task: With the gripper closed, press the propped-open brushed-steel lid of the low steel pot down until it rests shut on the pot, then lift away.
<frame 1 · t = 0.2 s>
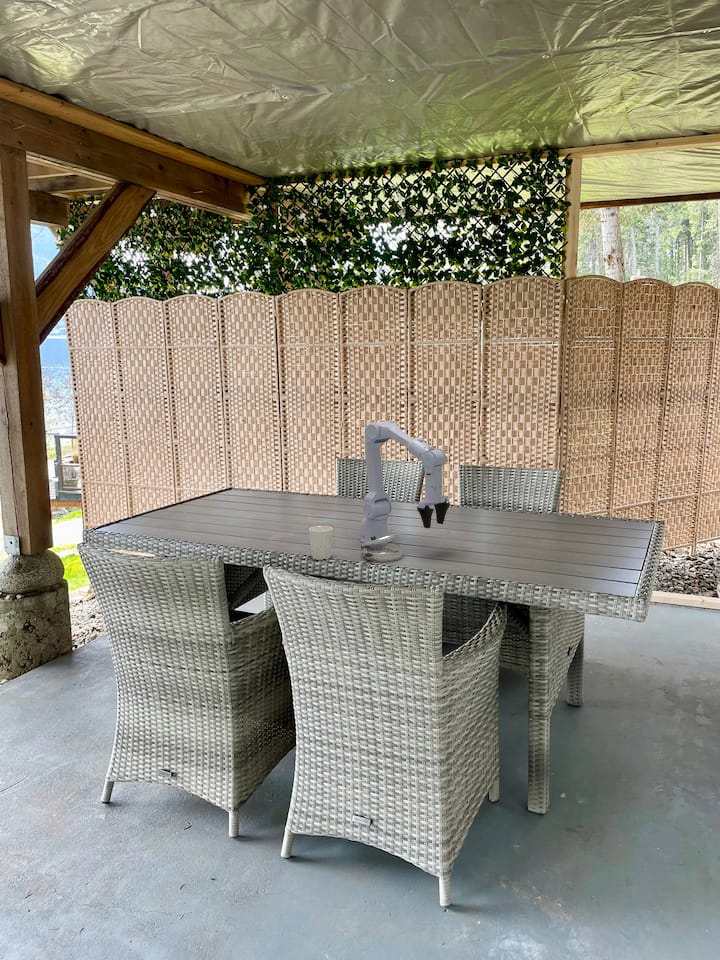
hand: (433, 525, 231), 10 cm above the table, tool pointing down, fingers open, 7 cm apart
white cup: (321, 557, 233), on the table
pot: (382, 556, 232), on the table
lid: (380, 537, 231), point 6 cm above the table, hinge at 20.0°
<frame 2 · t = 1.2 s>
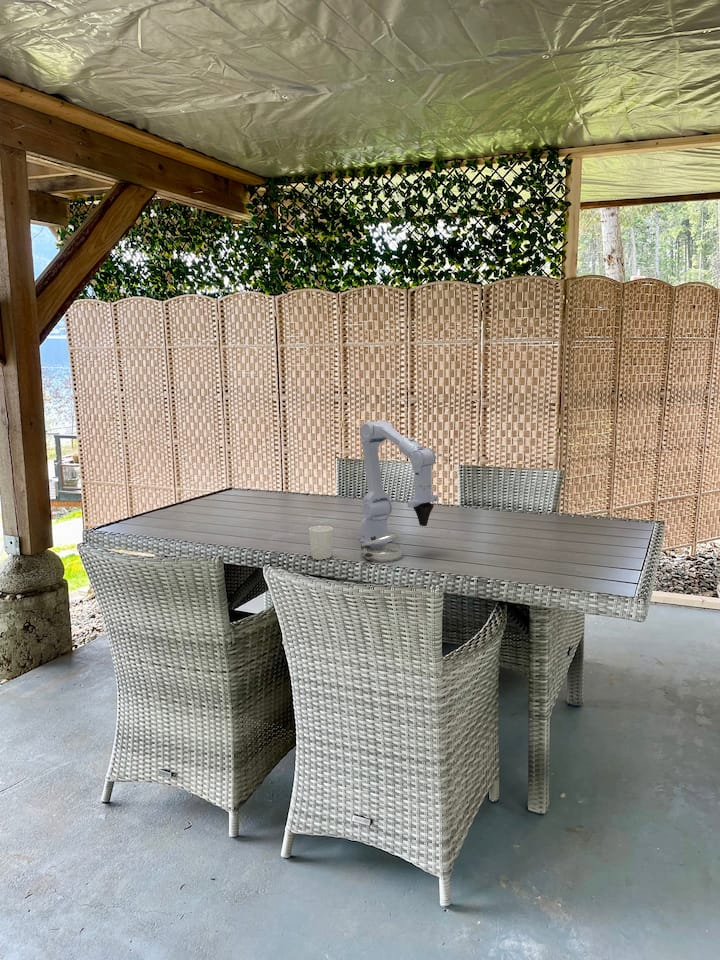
hand: (423, 525, 231), 10 cm above the table, tool pointing down, fingers closed
nothing on the table moved.
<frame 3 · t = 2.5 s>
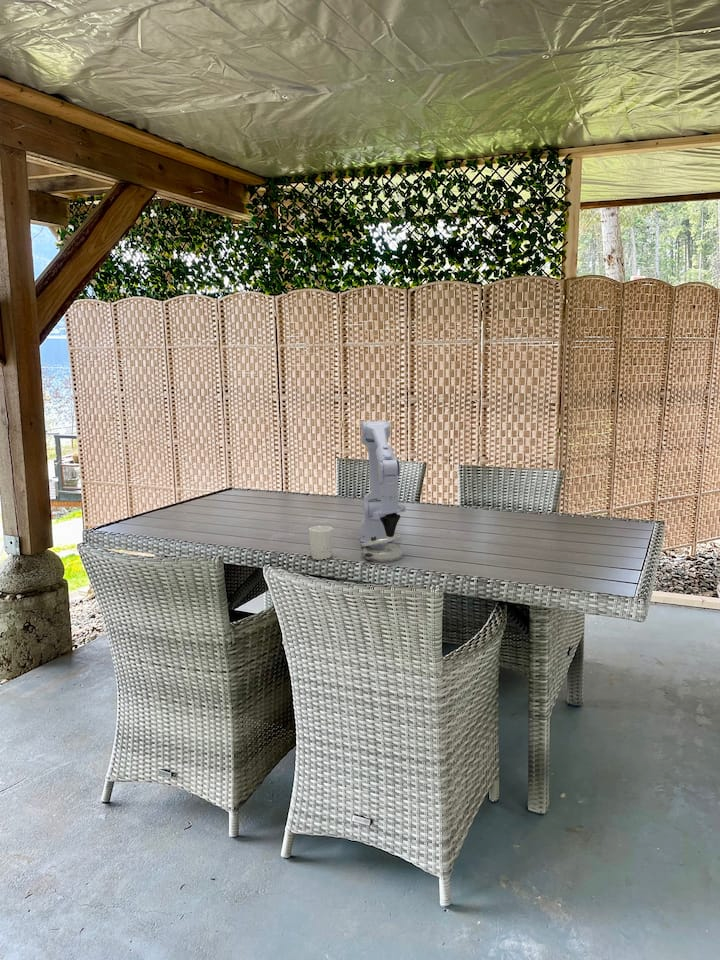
hand: (390, 536, 228), 8 cm above the table, tool pointing down, fingers closed, pressing on lid
lid: (380, 538, 231), point 6 cm above the table, hinge at 17.9°, touching gripper
everything else where it was.
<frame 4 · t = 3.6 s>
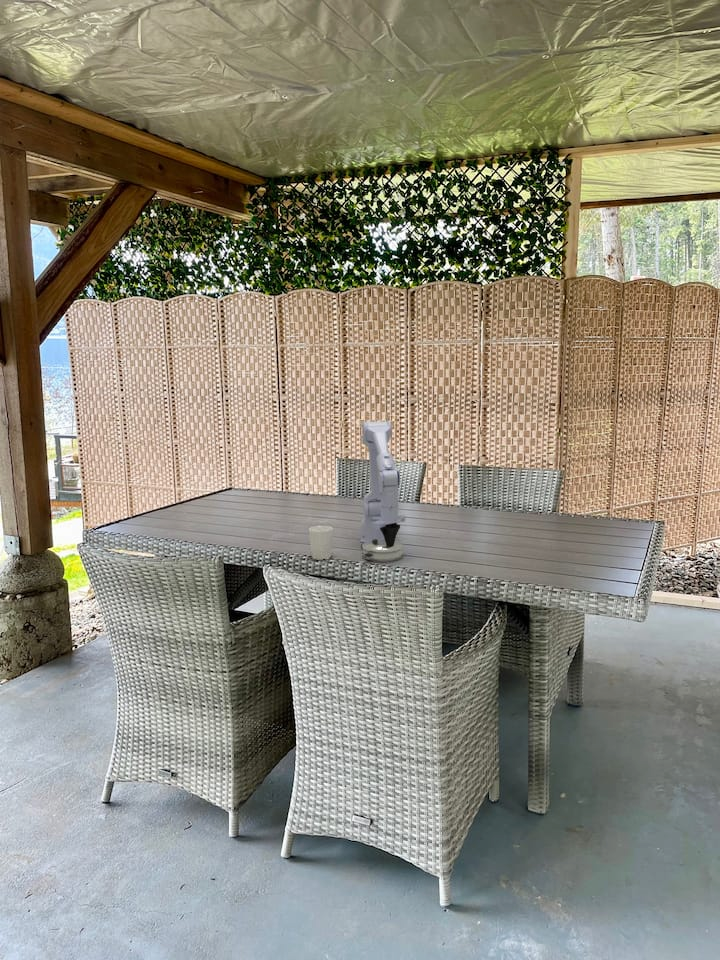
hand: (390, 546, 229), 4 cm above the table, tool pointing down, fingers closed, pressing on lid
lid: (382, 544, 231), point 4 cm above the table, hinge at 1.0°, touching gripper
everything else where it was.
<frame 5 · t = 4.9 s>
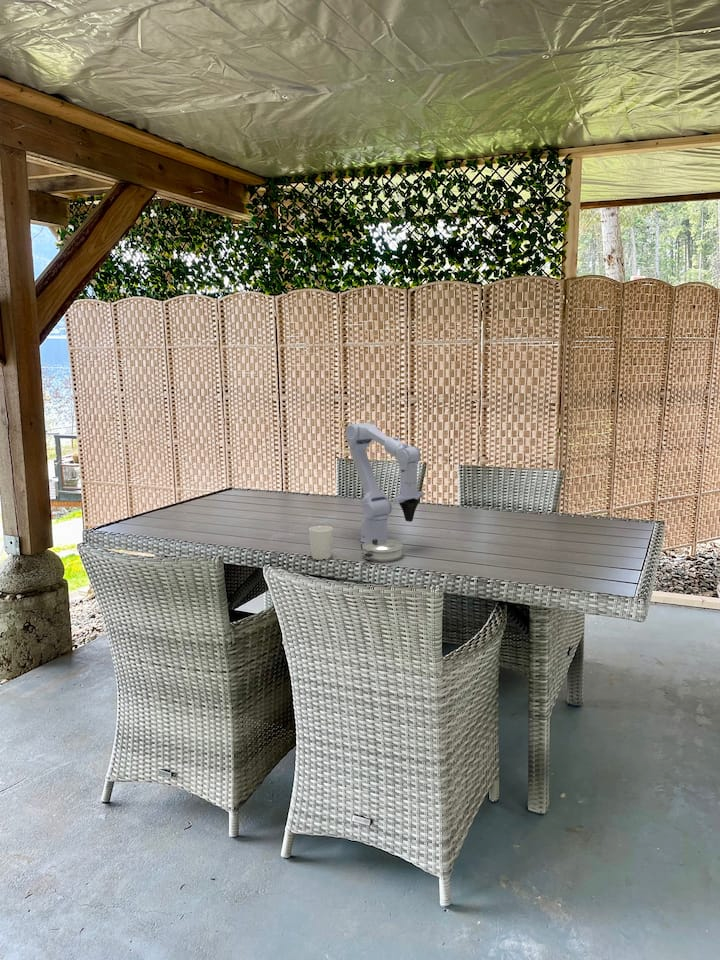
hand: (409, 521, 238), 10 cm above the table, tool pointing down, fingers closed
lid: (382, 544, 231), point 4 cm above the table, hinge at 1.0°
everything else where it was.
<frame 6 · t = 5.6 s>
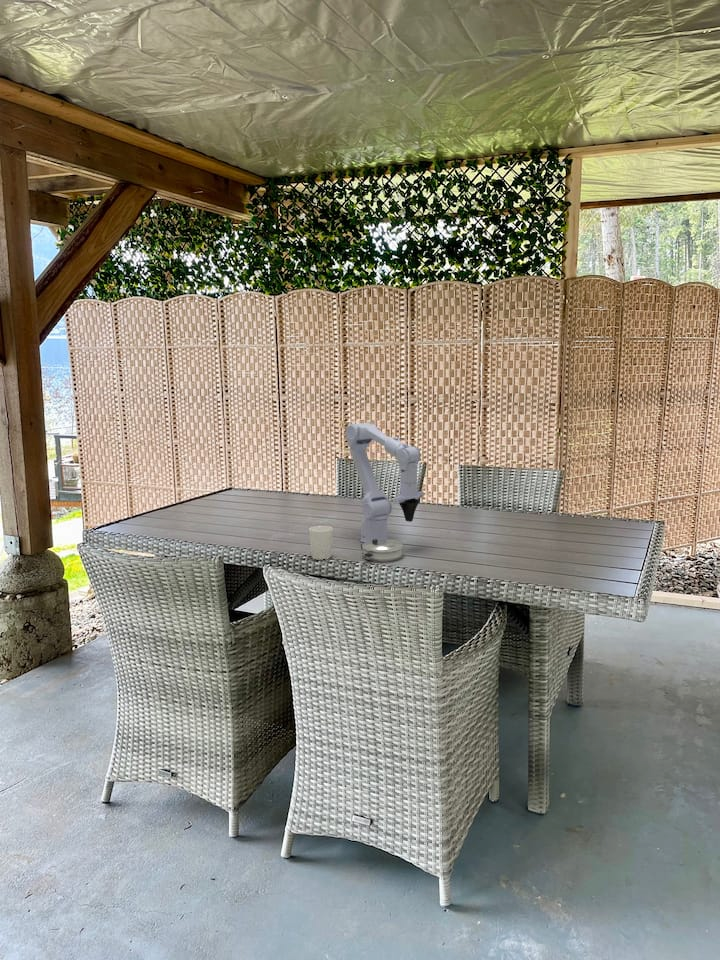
hand: (409, 521, 238), 10 cm above the table, tool pointing down, fingers closed
nothing on the table moved.
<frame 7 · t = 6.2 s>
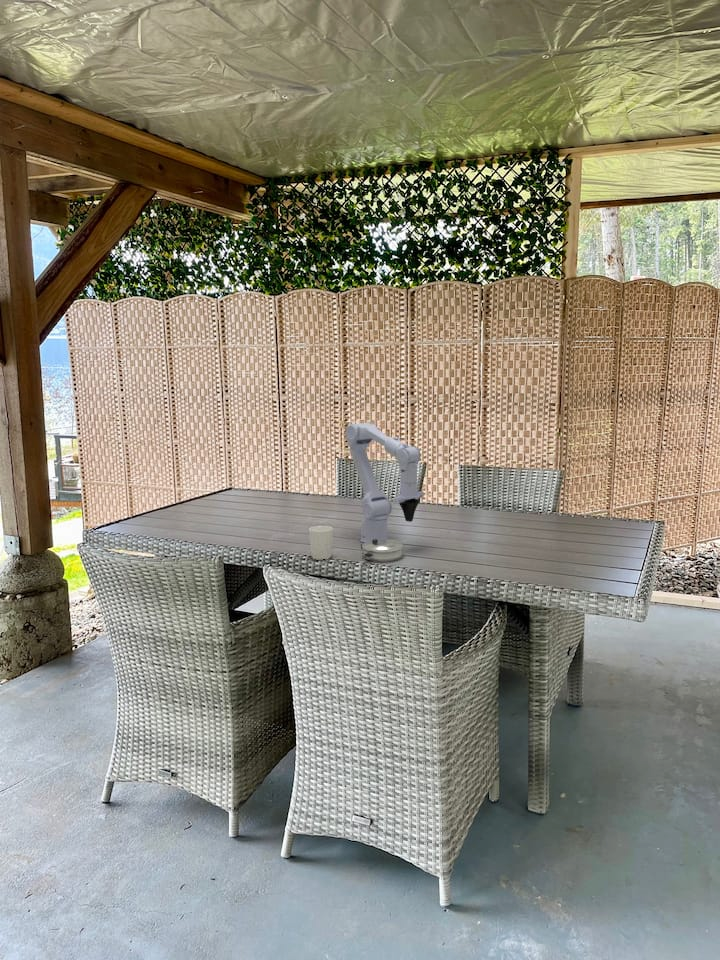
hand: (409, 521, 238), 10 cm above the table, tool pointing down, fingers closed
nothing on the table moved.
at the end: lid at +1° (first picture: +20°); white cup moved 0.2 cm from its start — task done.
